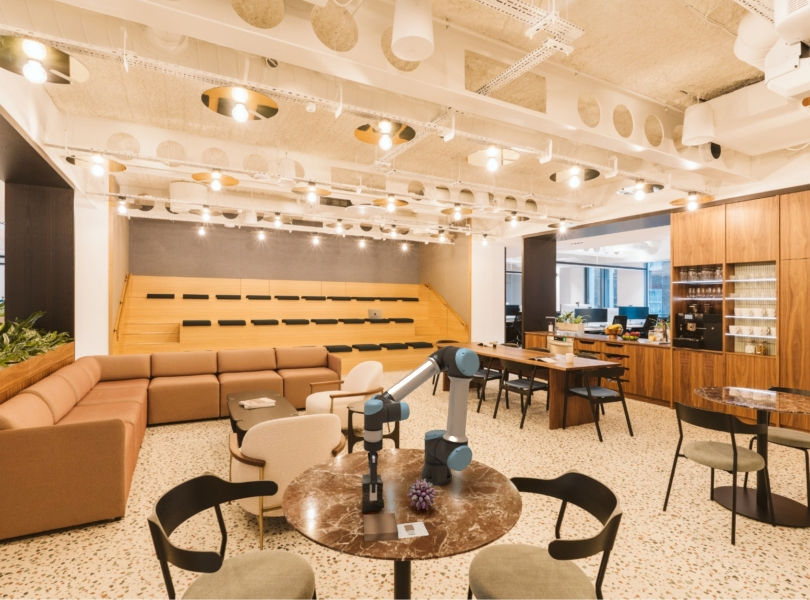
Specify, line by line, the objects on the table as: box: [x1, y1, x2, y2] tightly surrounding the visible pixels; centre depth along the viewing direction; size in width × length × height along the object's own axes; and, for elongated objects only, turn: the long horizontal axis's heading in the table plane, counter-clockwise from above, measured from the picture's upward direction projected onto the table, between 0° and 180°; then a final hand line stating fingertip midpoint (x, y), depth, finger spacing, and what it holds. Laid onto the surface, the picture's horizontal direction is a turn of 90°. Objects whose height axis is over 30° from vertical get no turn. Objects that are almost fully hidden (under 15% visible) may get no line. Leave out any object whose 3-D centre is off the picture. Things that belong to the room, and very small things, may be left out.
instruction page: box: [397, 521, 429, 540], centre depth 152 cm, size 12×9×1 cm
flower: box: [407, 478, 437, 511], centre depth 168 cm, size 12×12×12 cm
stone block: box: [361, 473, 385, 513], centre depth 166 cm, size 9×14×5 cm
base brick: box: [362, 512, 399, 542], centre depth 152 cm, size 12×13×3 cm
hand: (372, 491), depth 165 cm, fingers open, 13 cm apart
